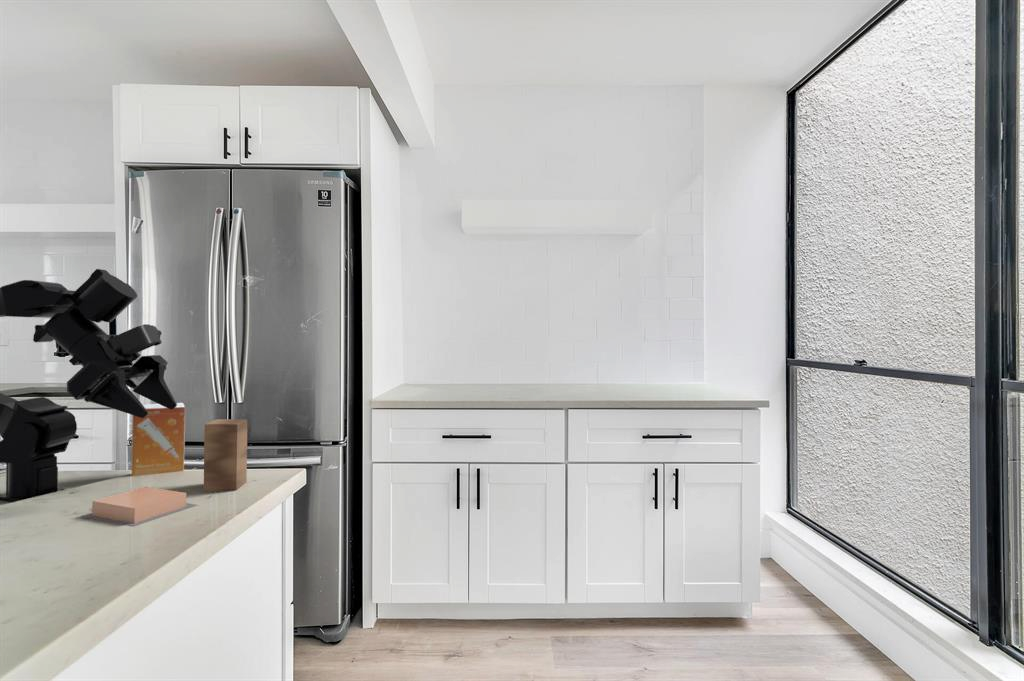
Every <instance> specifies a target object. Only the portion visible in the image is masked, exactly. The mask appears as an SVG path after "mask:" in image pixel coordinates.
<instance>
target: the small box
mask: <svg viewBox="0 0 1024 681" xmlns="http://www.w3.org/2000/svg"><path fill="white" fill-rule="evenodd" d="M176 404H177V406H176V407H175V408H174V409H172V410H171V409H169V408H167V407H164V406H162V405H160V404H158V403H150V404H148V403H147V404H146V403H145V404H142V405H143V406H144V407H145V409H146V410H147V411H148V415H147V416H146V417H144V418H140V417H137V416H134V415H132V425H131V428H132V430H131V477H137V476H145V475H157V474H166V473H176V472H184V471H185V445H186V444H185V443H186V442H185V441H186V440H185V438H186V437H185V435H186V407H185V404H184V403H183V402H176Z"/></svg>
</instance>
